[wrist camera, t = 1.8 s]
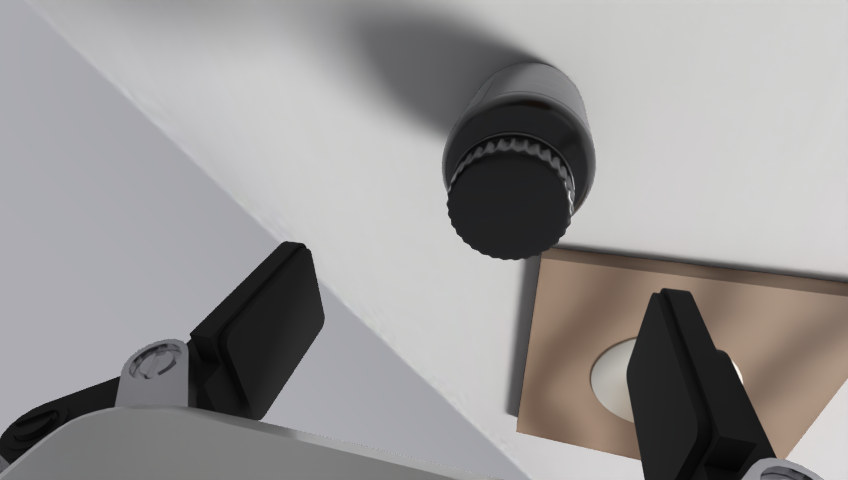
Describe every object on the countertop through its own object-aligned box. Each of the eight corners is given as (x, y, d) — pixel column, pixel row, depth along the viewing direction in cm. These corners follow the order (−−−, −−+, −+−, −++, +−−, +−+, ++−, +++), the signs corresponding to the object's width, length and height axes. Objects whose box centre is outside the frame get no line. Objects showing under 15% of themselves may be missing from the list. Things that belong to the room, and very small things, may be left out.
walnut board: (888, 287, 25) (907, 306, 23) (755, 470, 35) (763, 490, 34) (542, 246, 30) (541, 259, 28) (517, 418, 40) (516, 433, 39)
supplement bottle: (531, 191, 28) (514, 309, 18) (450, 128, 27) (387, 216, 17) (613, 108, 24) (648, 203, 14) (520, 32, 23) (489, 76, 13)
